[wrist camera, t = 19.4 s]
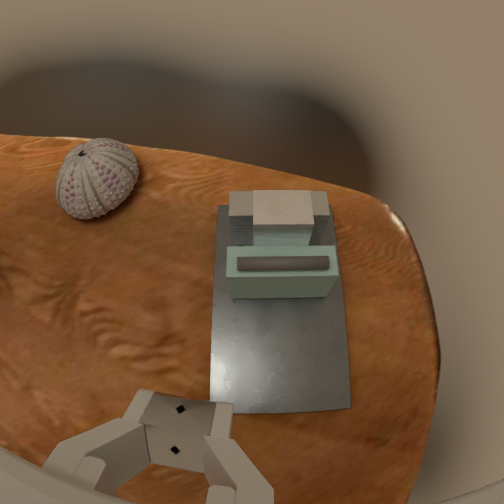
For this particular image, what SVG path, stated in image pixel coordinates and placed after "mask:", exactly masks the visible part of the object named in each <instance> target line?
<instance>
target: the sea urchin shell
mask: <svg viewBox="0 0 504 504" xmlns="http://www.w3.org/2000/svg"><path fill="white" fill-rule="evenodd" d="M138 165H139V164H138V162H137V158H136V157H135V156H134V152H132V150H130V148H127V146H126V145H124V143H120V141H117V140H114V139H110V138H98V139H92V140H90V141H89V142H87V143H84V144H81V145H78V146H77V147H75V148H73V149H72V150H71V151H70V152H69V153H68V154H67V156H65V159H63V164H62V166H61V168H60V171H59V173H58V177H57V178H56V181H57V182H56V184H55V185H56V193H55V194H56V197H55V198H56V199H57V204H59V205H60V208H63V209H64V210H66V213H67V214H68V215H69V214H71V215H72V217H74V218H76V217H77V218H78V219H85V220H87V219H92V218H93V217H100V216H101V215H106V214H107V212H108V211H109V210H114V209H115V207H117V206H119V204H120V203H122V202H123V200H126V197H127V196H129V195H130V193H131V191H132V190H133V186H134V185H135V183H136V182H137V181H138V179H137V178H138V175H139V174H140V172H139V168H138Z"/></svg>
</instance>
